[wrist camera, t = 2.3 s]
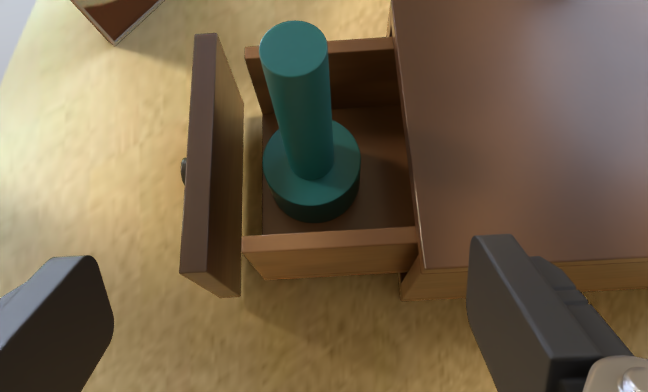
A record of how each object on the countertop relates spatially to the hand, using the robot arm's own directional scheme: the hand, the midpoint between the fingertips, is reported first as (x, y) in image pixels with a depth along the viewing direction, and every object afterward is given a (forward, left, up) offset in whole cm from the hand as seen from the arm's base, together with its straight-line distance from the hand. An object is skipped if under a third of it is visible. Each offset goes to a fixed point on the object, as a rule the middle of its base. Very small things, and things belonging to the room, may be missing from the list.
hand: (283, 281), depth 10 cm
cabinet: (+12, +9, -17) cm, 23 cm away
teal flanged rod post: (0, +9, -15) cm, 18 cm away
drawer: (+1, +9, -16) cm, 19 cm away
